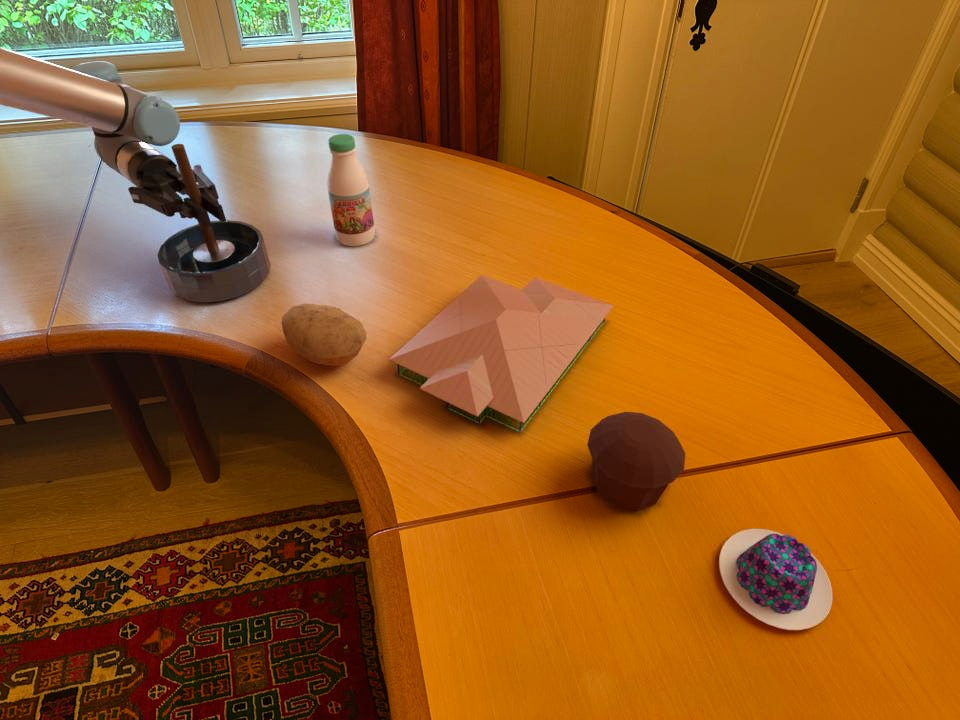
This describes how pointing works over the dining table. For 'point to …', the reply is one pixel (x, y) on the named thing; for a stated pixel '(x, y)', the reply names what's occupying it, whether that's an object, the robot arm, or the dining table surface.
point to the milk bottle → (349, 194)
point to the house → (502, 346)
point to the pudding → (775, 579)
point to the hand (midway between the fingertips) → (214, 216)
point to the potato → (323, 333)
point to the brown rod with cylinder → (213, 250)
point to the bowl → (220, 282)
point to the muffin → (634, 459)
